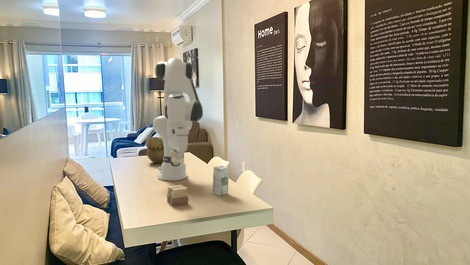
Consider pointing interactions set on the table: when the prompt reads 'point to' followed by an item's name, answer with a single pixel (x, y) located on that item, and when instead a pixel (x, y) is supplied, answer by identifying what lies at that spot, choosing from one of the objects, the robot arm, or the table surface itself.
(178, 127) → the robot arm
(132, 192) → the table surface
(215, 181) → the syrup box
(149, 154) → the clay pot
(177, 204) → the walnut slab
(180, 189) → the oak slab
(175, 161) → the maple cube
